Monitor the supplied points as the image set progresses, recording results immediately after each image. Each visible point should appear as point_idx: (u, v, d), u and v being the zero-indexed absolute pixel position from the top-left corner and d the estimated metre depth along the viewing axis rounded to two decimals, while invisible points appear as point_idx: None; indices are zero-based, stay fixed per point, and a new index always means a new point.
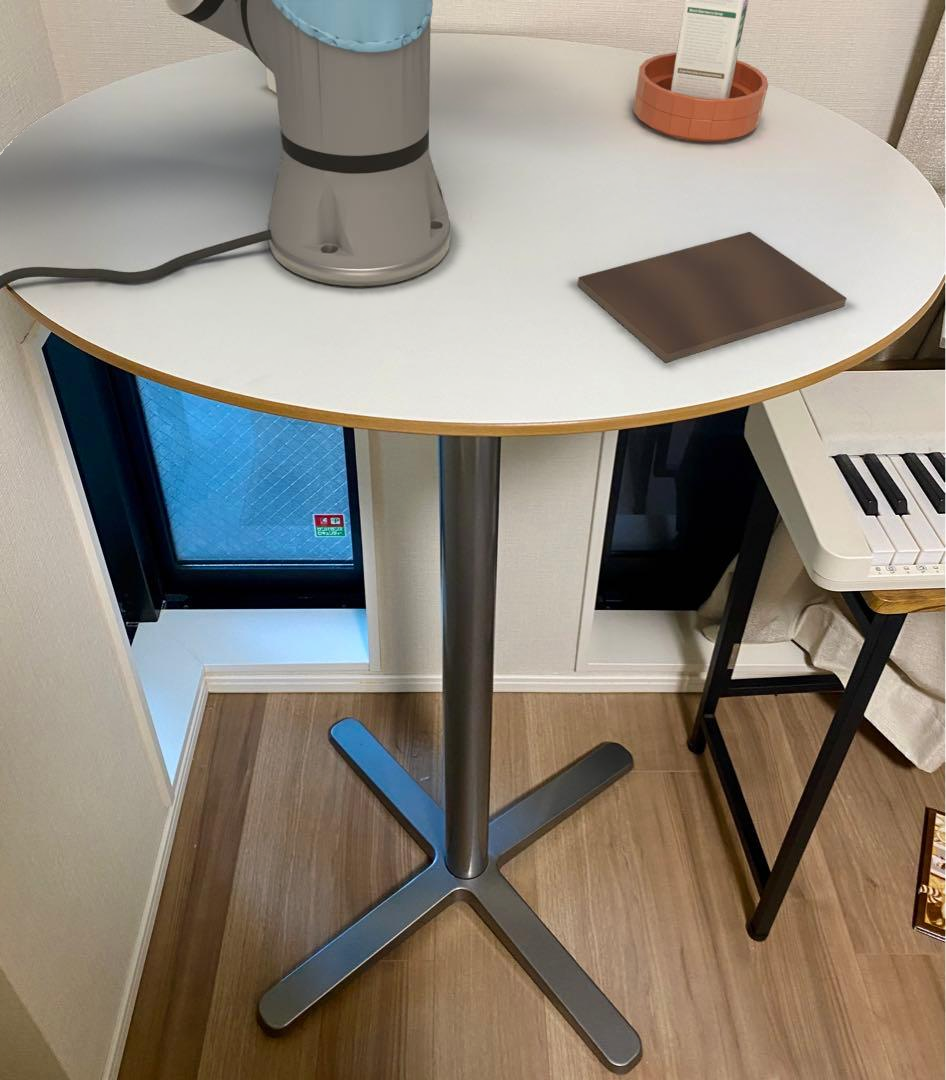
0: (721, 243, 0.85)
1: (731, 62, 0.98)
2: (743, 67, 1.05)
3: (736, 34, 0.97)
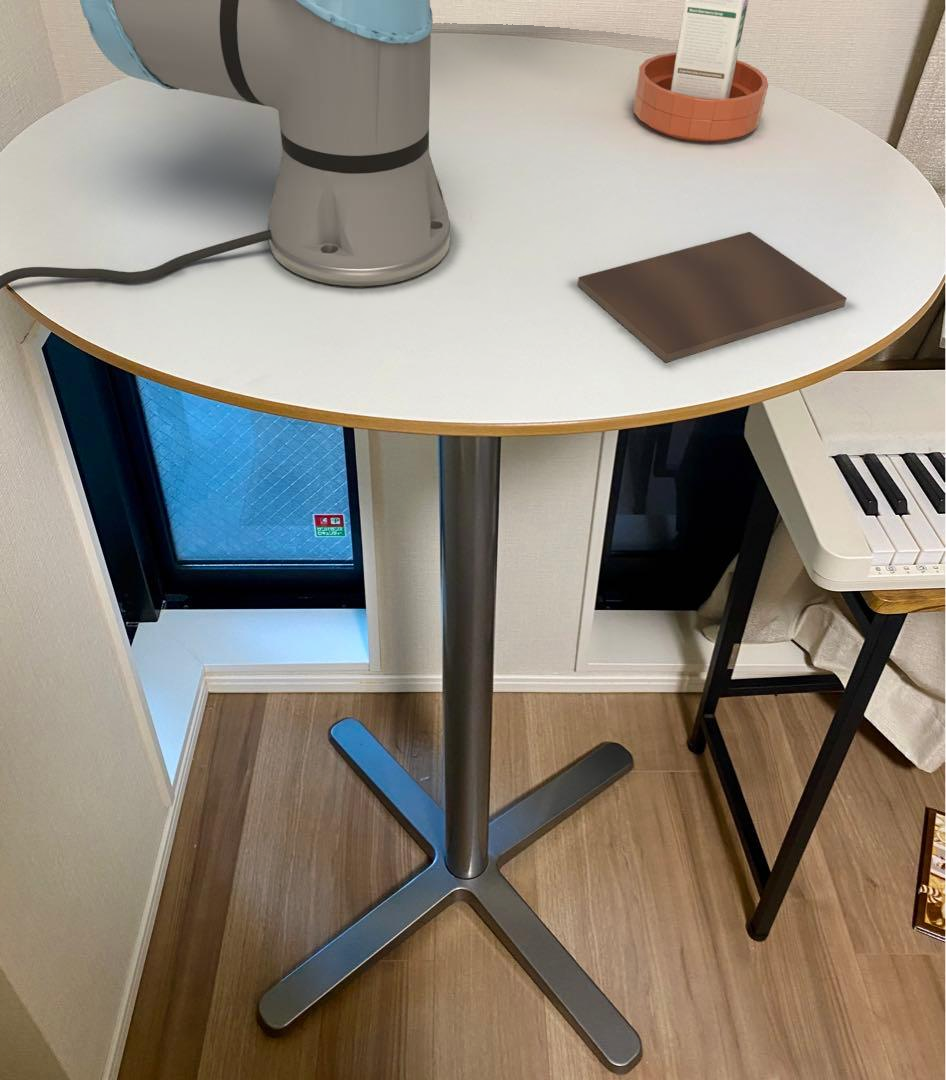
0: (721, 243, 0.85)
1: (731, 62, 0.98)
2: (743, 67, 1.05)
3: (736, 34, 0.97)
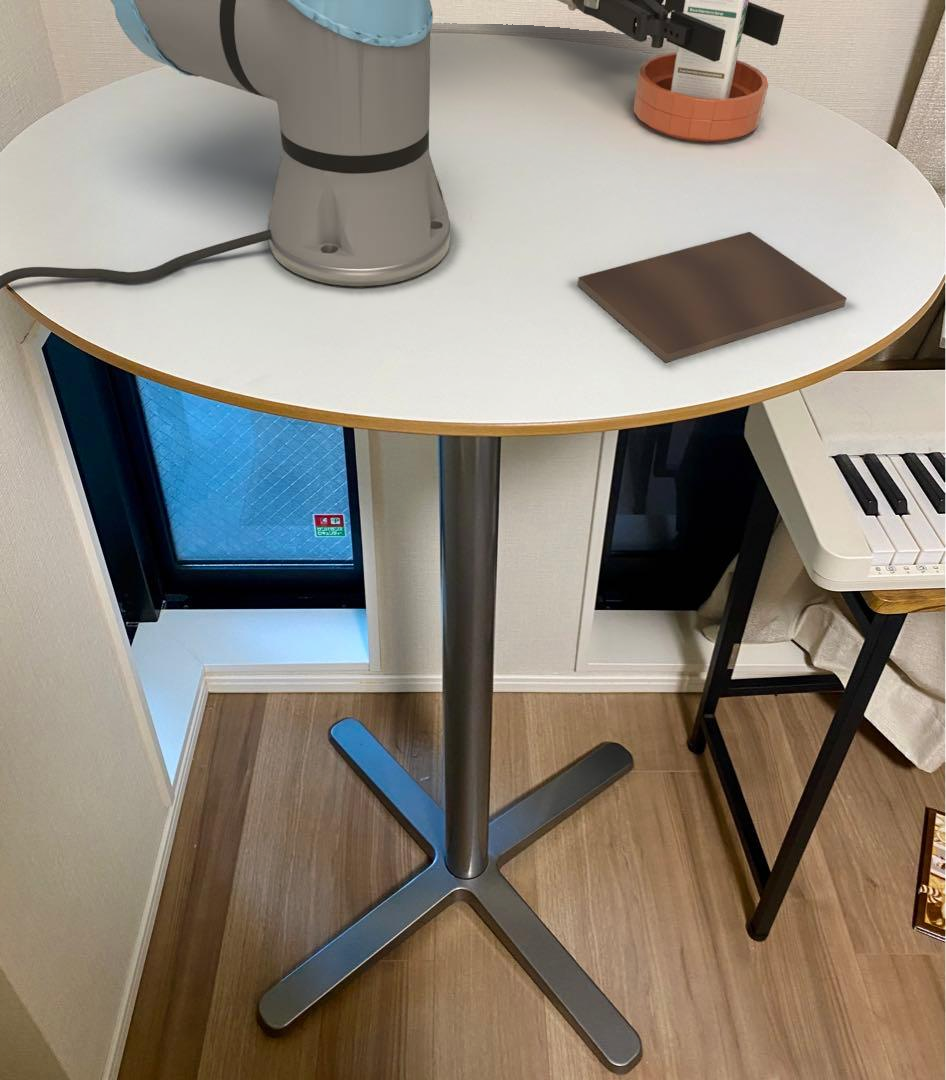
0: (721, 243, 0.85)
1: (731, 62, 0.98)
2: (743, 67, 1.05)
3: (736, 34, 0.97)
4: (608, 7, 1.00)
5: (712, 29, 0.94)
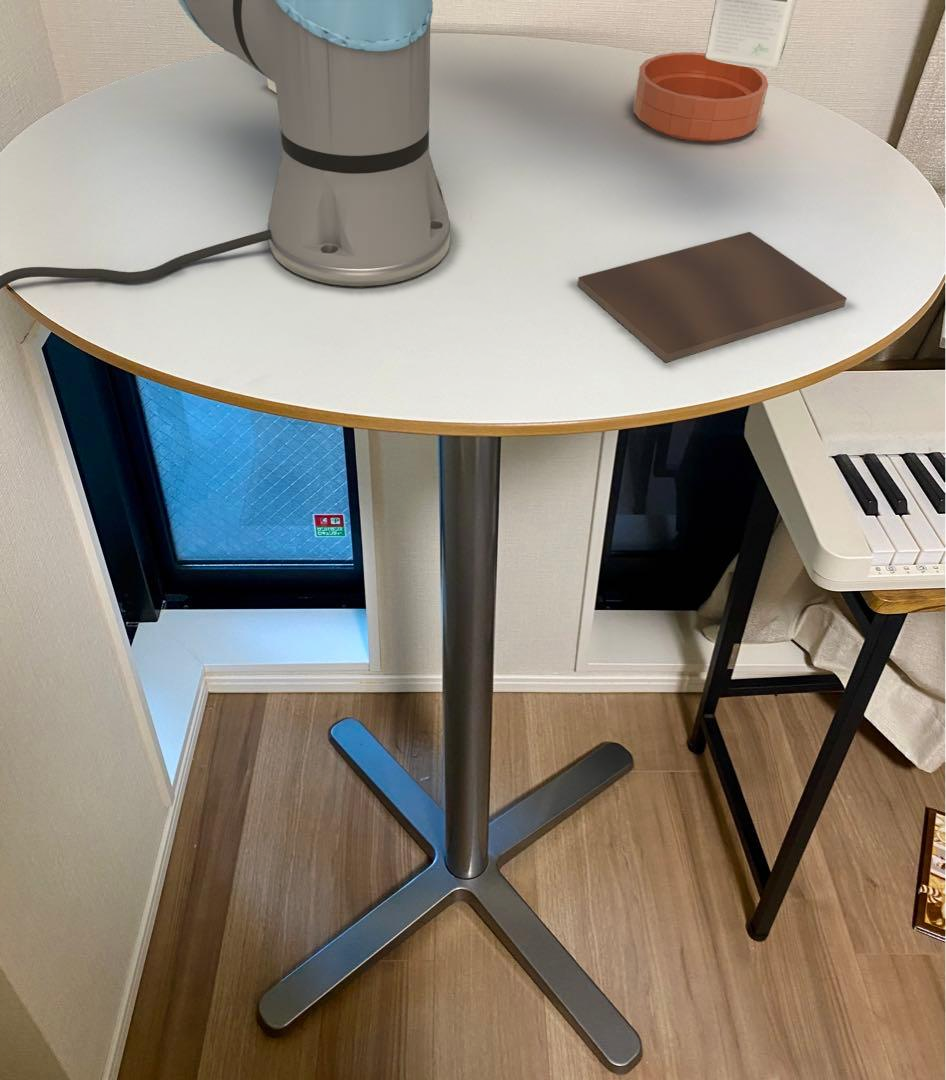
0: (721, 243, 0.85)
1: None
2: (743, 67, 1.05)
3: None
4: None
5: None
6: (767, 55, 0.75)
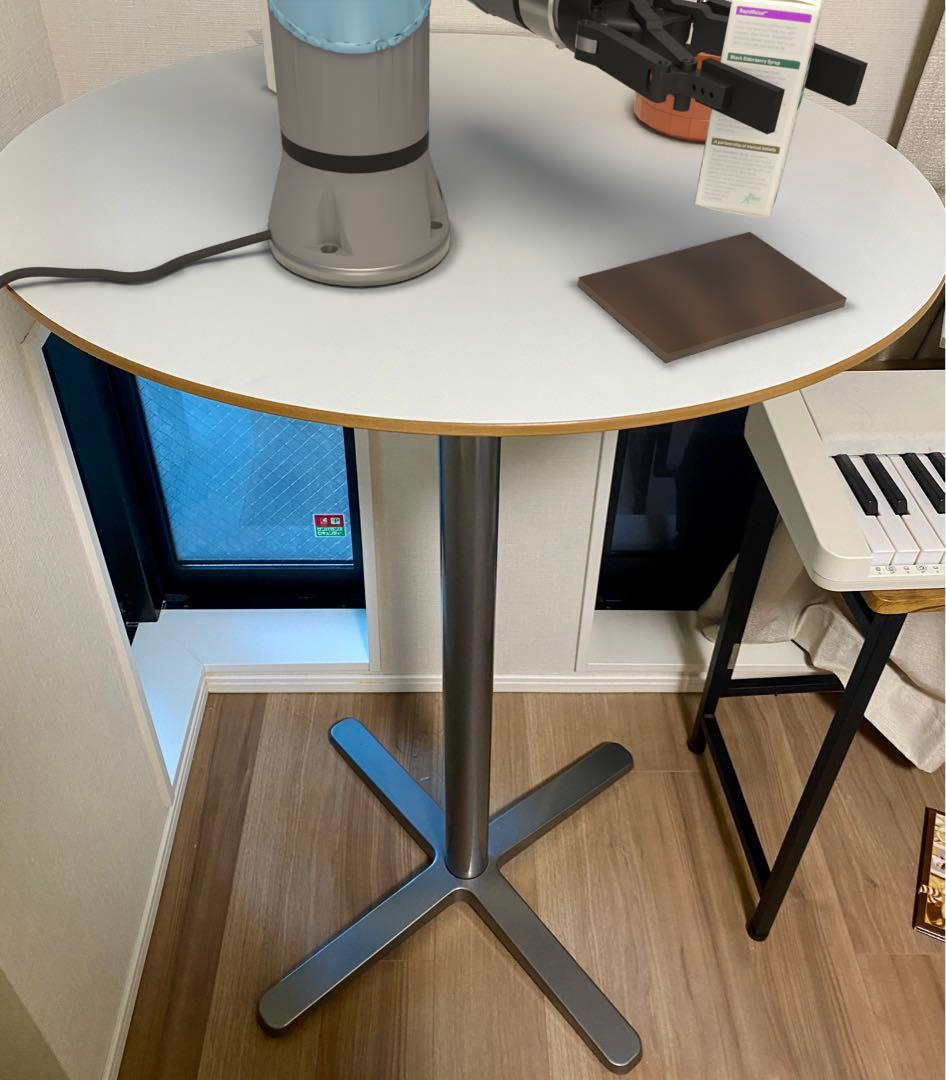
0: (721, 243, 0.85)
1: (790, 131, 0.68)
2: None
3: (799, 92, 0.66)
4: (610, 52, 0.70)
5: (765, 88, 0.63)
6: (759, 204, 0.71)
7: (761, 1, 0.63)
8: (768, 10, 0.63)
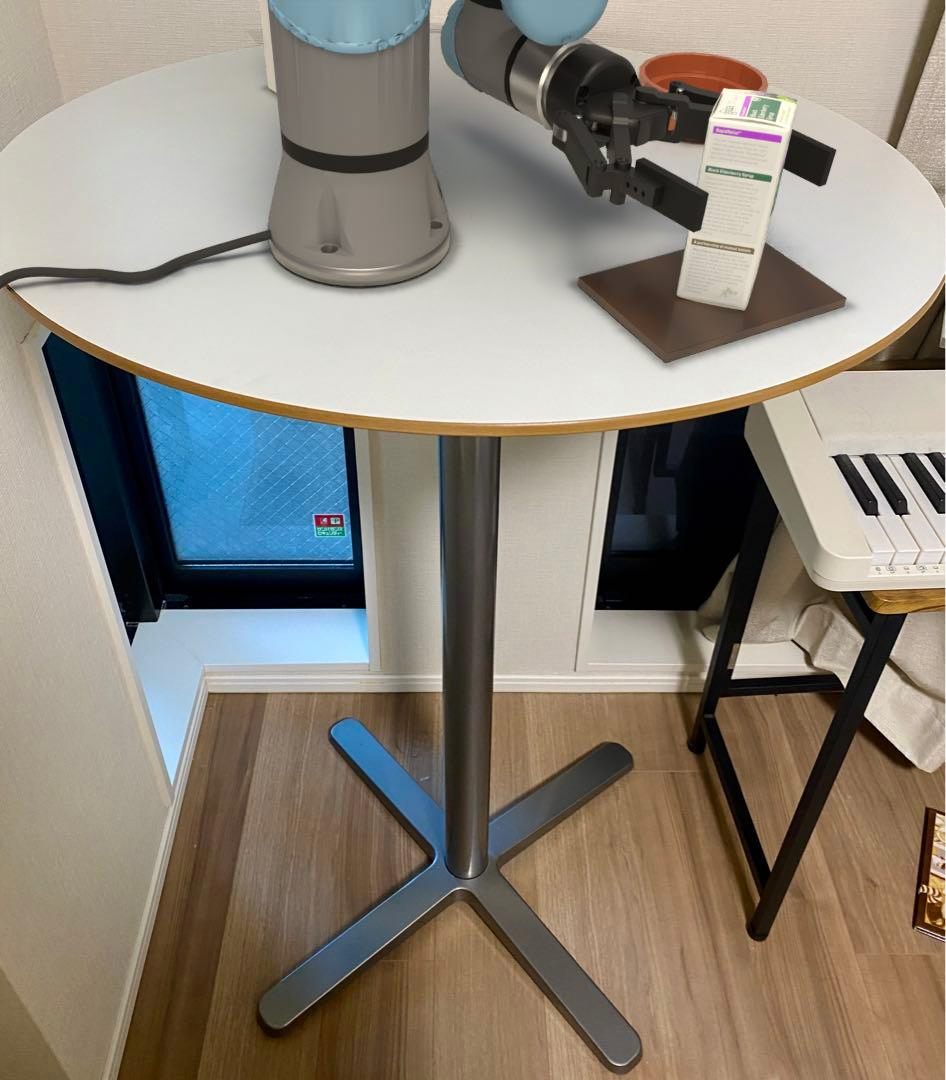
0: None
1: (764, 235, 0.73)
2: (743, 67, 1.05)
3: (771, 201, 0.71)
4: (571, 143, 0.75)
5: (691, 191, 0.68)
6: (736, 297, 0.77)
7: (736, 122, 0.68)
8: (742, 131, 0.68)
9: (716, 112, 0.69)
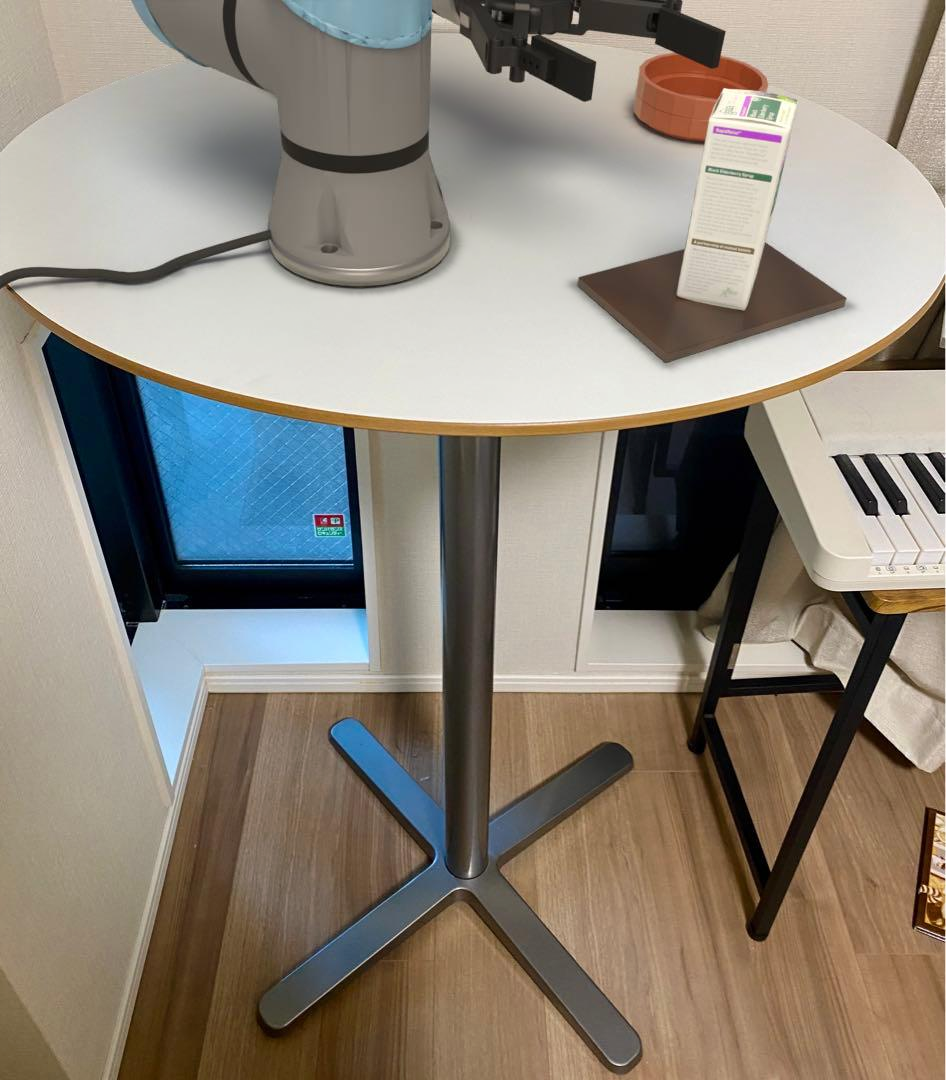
0: None
1: (764, 235, 0.73)
2: (743, 67, 1.05)
3: (771, 201, 0.71)
4: (475, 27, 0.78)
5: (579, 60, 0.72)
6: (736, 297, 0.77)
7: (736, 122, 0.68)
8: (742, 131, 0.68)
9: (716, 112, 0.69)
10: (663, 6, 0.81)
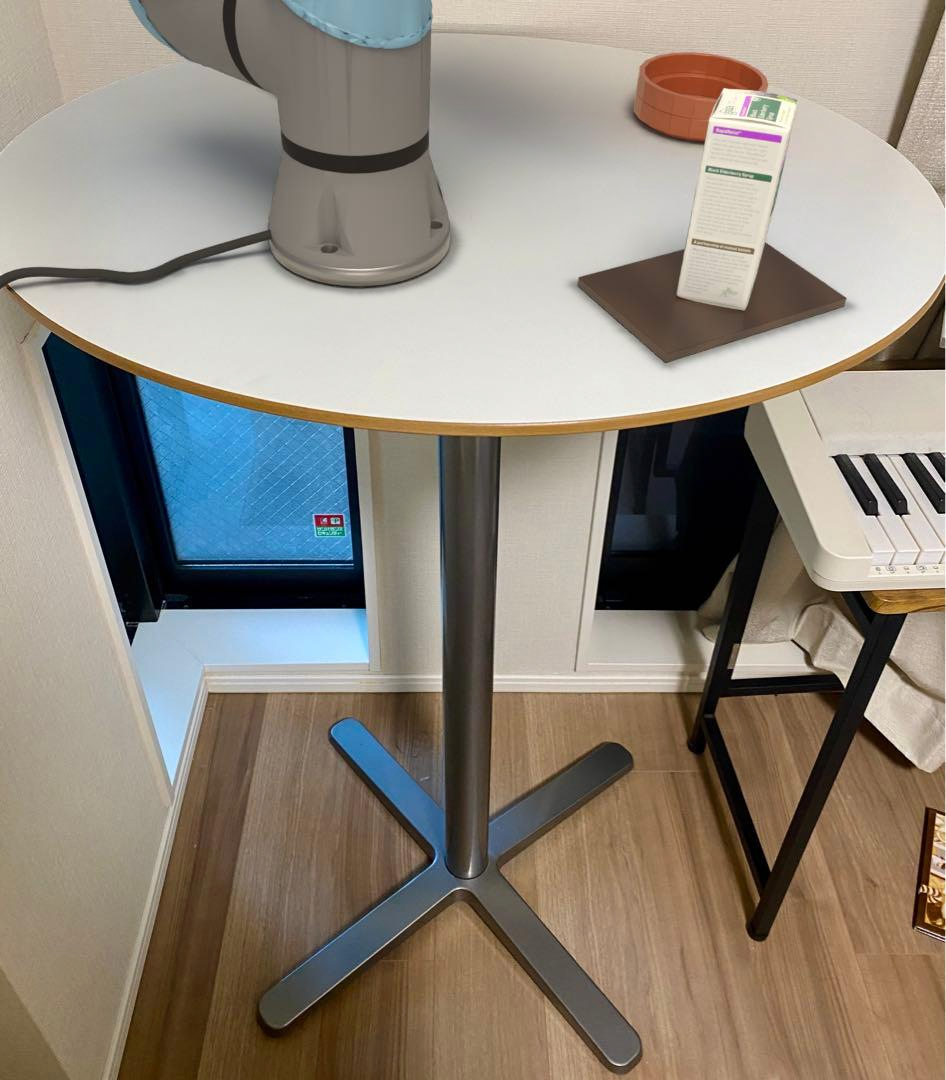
0: None
1: (764, 235, 0.73)
2: (743, 67, 1.05)
3: (771, 201, 0.71)
4: None
5: None
6: (736, 297, 0.77)
7: (735, 122, 0.68)
8: (742, 131, 0.68)
9: (716, 112, 0.69)
10: None
